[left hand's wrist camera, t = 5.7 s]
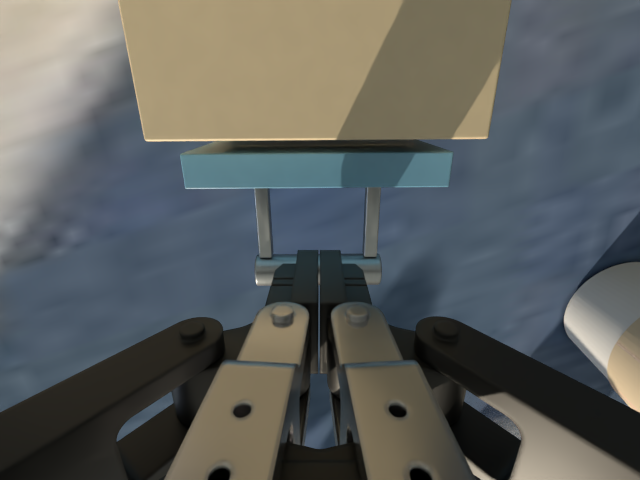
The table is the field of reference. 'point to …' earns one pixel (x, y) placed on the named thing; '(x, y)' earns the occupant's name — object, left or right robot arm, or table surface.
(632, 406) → the coffee cup
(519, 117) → the table surface
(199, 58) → the beige cardboard box
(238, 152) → the drawer
